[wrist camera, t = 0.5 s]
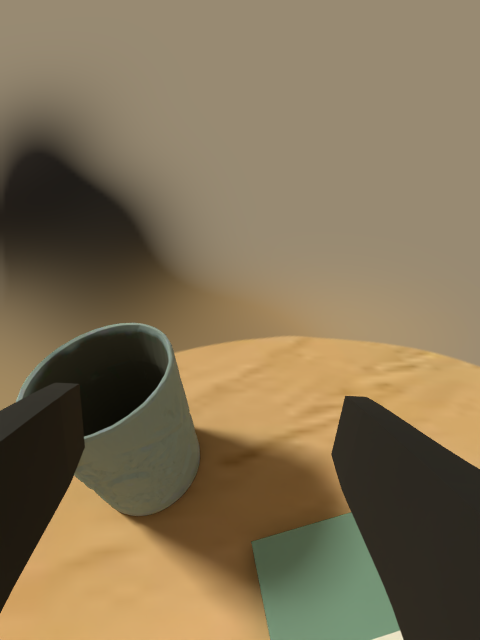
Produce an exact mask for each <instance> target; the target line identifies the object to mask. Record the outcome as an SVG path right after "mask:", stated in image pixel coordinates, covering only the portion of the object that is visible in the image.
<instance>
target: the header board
mask: <svg viewBox="0 0 480 640" xmlns="http://www.w3.org/2000/svg"><path fill="white" fill-rule="evenodd" d="M251 543H252V548H253V553H254V558H255V563H256V569H257V574H258V579H259V584H260V589H261V594H262V599H263V604H264V609H265V614H266V620H267V625H268V630H269V635H270V640H372V639H375V638H378V637H382V636H385V635H388V634H391V633H394V632H397V631H400V628H399V626H398V623H397V620H396V617H395V614H394V611H393V608H392V605H391V603H390V600H389V598H388V595H387V593H386V590H385V588H384V585H383V583H382V581H381V578H380V576H379V574H378V572H377V569H376V567H375V565H374V562H373V560H372V558H371V556H370V553H369V551H368V549H367V546H366V544H365V542H364V540H363V537H362V535H361V533H360V531H359V528H358V526H357V524H356V522H355V519H354V517H353V515H352V512H351V513H347V514H344V515H340V516H337V517H334V518H330V519H327V520H323V521H320V522H317V523H313V524H310V525H306V526H303V527H300V528H296V529H293V530H289V531H286V532H283V533H279V534H276V535H272V536H269V537H266V538H262V539H259V540H255V541H252V542H251Z"/></svg>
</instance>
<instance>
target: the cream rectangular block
mask: <svg viewBox="0 0 480 640" xmlns="http://www.w3.org/2000/svg"><path fill="white" fill-rule="evenodd" d="M372 640H403V637H402V634H401V631H397V632H394V633H391V634H388V635H385V636H382V637H378V638H375V639H372Z"/></svg>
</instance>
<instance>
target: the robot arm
mask: <svg viewBox="0 0 480 640" xmlns="http://www.w3.org/2000/svg"><path fill="white" fill-rule="evenodd" d="M84 448H85V442H84V431H83V420H82V409H81V398H80V387H79V384H72V383H53V384H51V385H49V386H46V387H44V388H42V389H40V390H38V391H36V392H34V393H33V394H31V395H29V396H27V397H25V398H23V399H21V400H19V401H17V402H16V403H14V404H12V405H10V406H8V407H6V408H4V409H3V410H1V411H0V613H1V611H2V609H3V607H4V605H5V603H6V601H7V599H8V597H9V595H10V593H11V591H12V589H13V587H14V585H15V584H16V582H17V580H18V578H19V576H20V574H21V573H22V571H23V569H24V567H25V565H26V564H27V562H28V560H29V558H30V556H31V555H32V553H33V551H34V549H35V547H36V546H37V544H38V542H39V540H40V538H41V537H42V535H43V533H44V531H45V529H46V528H47V526H48V524H49V522H50V520H51V519H52V517H53V515H54V513H55V511H56V509H57V508H58V506H59V504H60V502H61V500H62V498H63V497H64V495H65V493H66V491H67V489H68V487H69V485H70V483H71V481H72V478H73V476H74V474H75V471H76V469H77V466H78V464H79V461H80V459H81V456H82V453H83V451H84ZM332 458H333V461H334V465H335V469H336V472H337V475H338V479H339V482H340V485H341V488H342V491H343V493H344V496H345V498H346V501H347V503H348V505H349V508H350V510H351V512H352V515H353V517H354V519H355V522H356V524H357V526H358V528H359V531H360V533H361V535H362V537H363V540H364V542H365V544H366V546H367V549H368V551H369V553H370V556H371V558H372V560H373V562H374V565H375V567H376V569H377V572H378V574H379V576H380V578H381V581H382V583H383V585H384V588H385V590H386V593H387V595H388V598H389V600H390V603H391V605H392V608H393V611H394V614H395V617H396V620H397V623H398V626H399V628H400V631H401V634H402V637H403V640H480V469H478V468H477V467H475V466H473V465H472V464H470V463H468V462H467V461H465V460H463V459H462V458H460V457H459V456H457V455H455V454H454V453H452V452H451V451H449V450H448V449H446V448H445V447H443V446H441V445H440V444H438V443H437V442H435V441H434V440H432V439H431V438H429V437H428V436H426V435H425V434H423V433H422V432H420V431H419V430H417V429H416V428H414V427H413V426H411V425H410V424H408V423H407V422H405V421H404V420H402V419H401V418H399V417H398V416H396V415H395V414H393V413H392V412H390V411H389V410H387V409H386V408H384V407H383V406H381V405H379V404H378V403H376V402H374V401H373V400H371V399H369V398H367V397H357V396H345V399H344V404H343V408H342V412H341V416H340V420H339V425H338V429H337V433H336V437H335V441H334V446H333V450H332Z"/></svg>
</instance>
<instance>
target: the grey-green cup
mask: <svg viewBox="0 0 480 640" xmlns="http://www.w3.org/2000/svg"><path fill="white" fill-rule="evenodd" d="M53 383H72V384H79V387H80V398H81V409H82V420H83V431H84V442H85V448H84V451H83V453H82V456H81V459H80V461H79V464H78V466H77V469H76V471H75V474H74V475H75V476H76V477H77V478H78V479H79V480H80V481H81V482H84V484H85V485H86V486H87V487H89V488H90V489H93V490H94V491H95V492H96V493H97V494H98V495H99V496H100V497H101V498H102V499H103V500H105V501H106V502H107V503H108V504H109V505H111V506H112V507H113V508H114V509H116V510H117V511H119V512H121V513H123V514H128V515H133V516H144V515H150V514H154V513H156V512H159V511H162V510H163V509H165V508H167V507H169V506H170V505H172V504H173V503H174V502H176V501H177V500H178V499H179V498H180V497H181V496H182V495H183V494H184V493H185V492H186V490H187V489H188V488H189V487H190V485H191V483H192V482H193V480H194V478H195V476H196V474H197V470H198V467H199V461H200V446H199V442H198V439H197V435H196V433H195V429H194V425H193V421H192V417H191V415H190V413H189V406H188V403H187V399H186V395H185V392H184V388H183V385H182V382H181V378H180V375H179V370H178V366H177V363H176V359H175V355H174V351H173V348H172V345H171V343H170V342H169V340H168V338H167V337H166V335H165V334H163V333H162V332H161V331H160V330H158V329H156V328H154V327H152V326H148V325H145V324H139V323H122V324H114V325H109V326H105V327H102V328H98V329H95V330H92V331H90V332H87V333H85V334H83V335H80V336H78V337H76V338H74V339H72V340H71V341H69V342H67V343H65V344H64V345H62V346H60V347H59V348H57V349H56V350H55V351H54V352H52V353H51V354H50V355H48V356H47V357H46V358H45V359H44V360H43V361H42V362H41V363H39V364H38V365H37V366H36V368H35V369H34V370H33V371H32V372H31V374H30V375H29V376H28V377H27V378H26V380H25V382H24V384H23V385H22V387H21V390H20V393H19V395H18V398H17V400H16V402H17V401H19V400H21V399H23V398H25V397H27V396H29V395H31V394H33V393H34V392H36V391H38V390H40V389H42V388H44V387H46V386H49V385H51V384H53Z"/></svg>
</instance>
